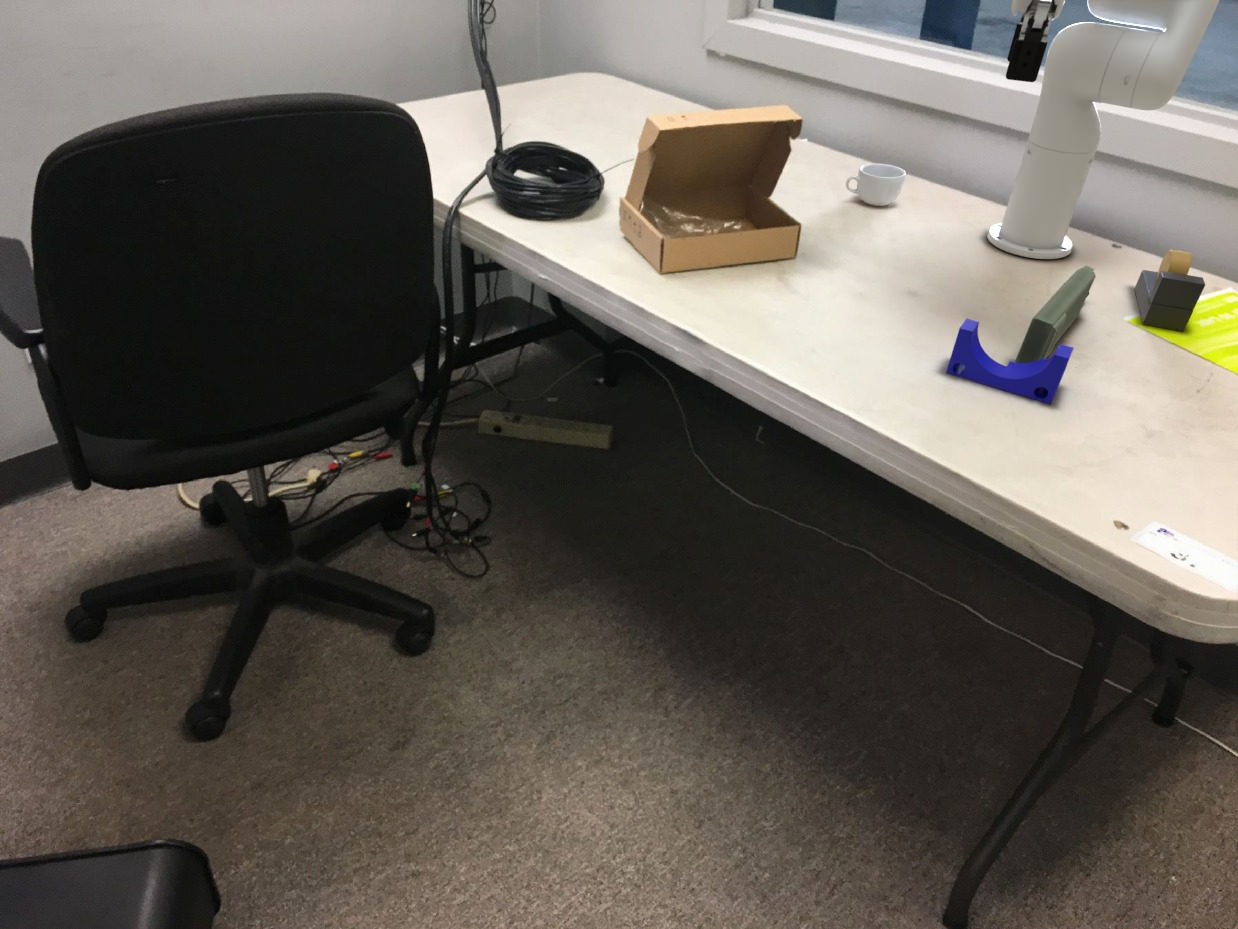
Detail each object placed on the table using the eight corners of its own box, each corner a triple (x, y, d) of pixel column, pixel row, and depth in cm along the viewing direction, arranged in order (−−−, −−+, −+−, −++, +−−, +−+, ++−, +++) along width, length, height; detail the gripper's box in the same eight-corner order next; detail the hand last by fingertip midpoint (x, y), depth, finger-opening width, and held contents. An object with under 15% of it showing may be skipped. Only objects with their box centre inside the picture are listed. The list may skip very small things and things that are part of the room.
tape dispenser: (1134, 288, 125) (1156, 235, 120) (1172, 295, 124) (1196, 242, 119) (1142, 324, 116) (1167, 268, 111) (1183, 331, 115) (1210, 275, 110)
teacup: (888, 193, 154) (895, 162, 151) (906, 209, 148) (913, 177, 145) (835, 194, 153) (840, 163, 149) (850, 210, 147) (856, 178, 143)
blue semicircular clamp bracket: (1058, 387, 102) (1076, 342, 98) (1050, 404, 99) (1069, 358, 95) (956, 357, 107) (969, 313, 103) (945, 372, 104) (959, 327, 100)
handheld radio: (1009, 363, 106) (1068, 296, 122) (1036, 374, 105) (1092, 304, 121) (1028, 315, 102) (1087, 252, 118) (1057, 325, 100) (1112, 260, 116)
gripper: (1033, -114, 96) (988, 52, 107) (1034, -106, 83) (983, 83, 94) (1106, -110, 94) (1053, 60, 105) (1118, -101, 81) (1057, 92, 92)
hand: (1020, 70), depth 99 cm, fingers open, 9 cm apart
